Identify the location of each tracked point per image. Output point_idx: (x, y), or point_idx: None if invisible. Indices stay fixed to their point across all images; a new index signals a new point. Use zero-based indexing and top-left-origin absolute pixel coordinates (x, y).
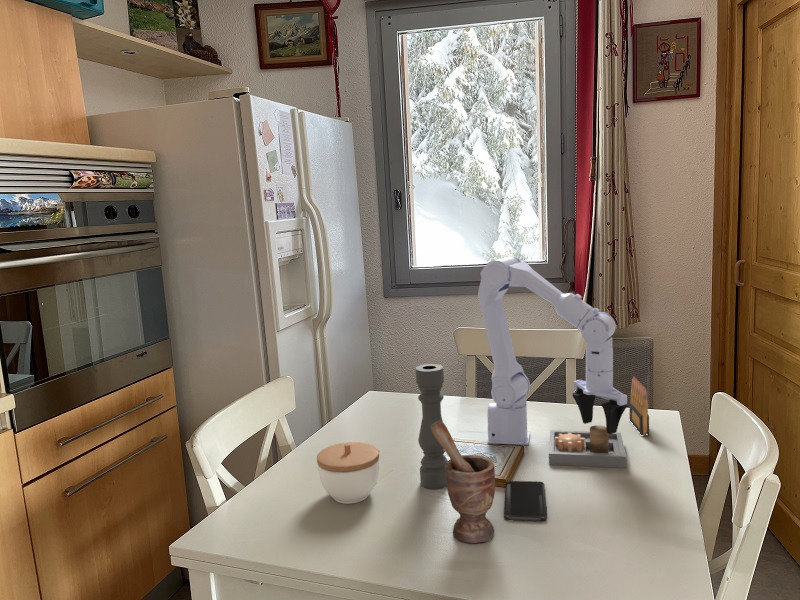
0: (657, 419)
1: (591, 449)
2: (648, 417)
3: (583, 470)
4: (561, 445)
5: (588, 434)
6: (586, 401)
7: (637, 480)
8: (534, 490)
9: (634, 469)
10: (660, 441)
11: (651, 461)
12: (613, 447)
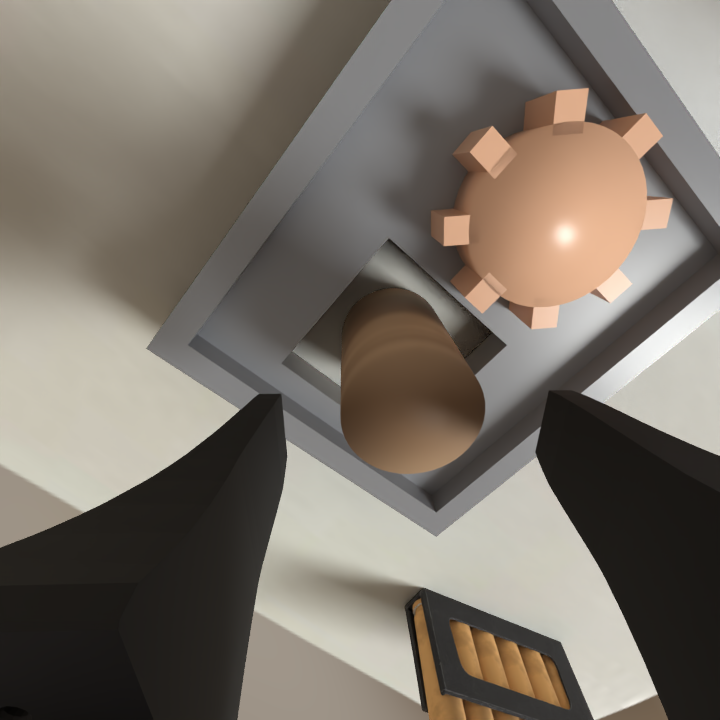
0: None
1: (407, 299)
2: (421, 698)
3: (255, 78)
4: (540, 104)
5: None
6: (696, 586)
7: (9, 260)
8: None
9: (142, 345)
10: (340, 603)
11: None
12: None
